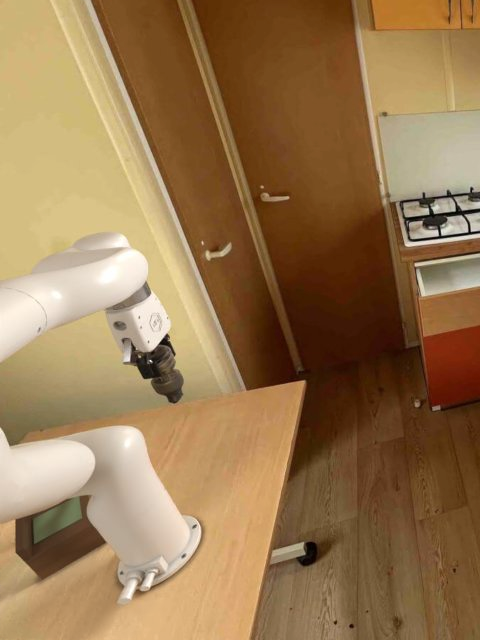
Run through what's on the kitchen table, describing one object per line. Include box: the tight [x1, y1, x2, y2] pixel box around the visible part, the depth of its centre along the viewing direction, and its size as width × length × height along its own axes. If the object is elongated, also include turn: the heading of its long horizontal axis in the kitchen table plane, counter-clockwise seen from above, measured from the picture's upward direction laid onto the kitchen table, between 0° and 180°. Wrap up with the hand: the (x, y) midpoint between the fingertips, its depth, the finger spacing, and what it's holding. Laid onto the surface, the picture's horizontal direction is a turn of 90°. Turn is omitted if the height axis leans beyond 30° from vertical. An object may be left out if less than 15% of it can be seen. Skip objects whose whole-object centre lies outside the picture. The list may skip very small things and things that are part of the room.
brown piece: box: [14, 495, 107, 581], centre depth 81 cm, size 9×12×9 cm
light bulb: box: [138, 345, 185, 405], centre depth 90 cm, size 6×6×15 cm
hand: (160, 366), depth 89 cm, fingers closed on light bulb, 5 cm apart
